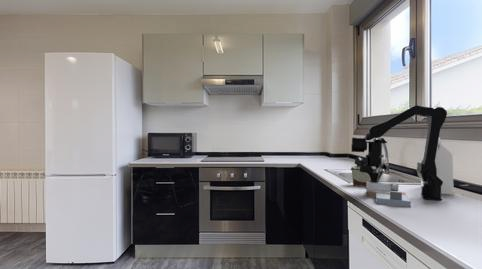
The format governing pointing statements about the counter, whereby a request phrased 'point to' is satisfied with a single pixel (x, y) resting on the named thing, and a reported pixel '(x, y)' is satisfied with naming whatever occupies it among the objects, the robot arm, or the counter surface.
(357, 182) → the food container
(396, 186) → the lock bar
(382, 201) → the grey stepped block
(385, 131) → the robot arm
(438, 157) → the milk
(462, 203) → the counter surface
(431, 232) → the counter surface
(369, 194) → the jamb board
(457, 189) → the counter surface
